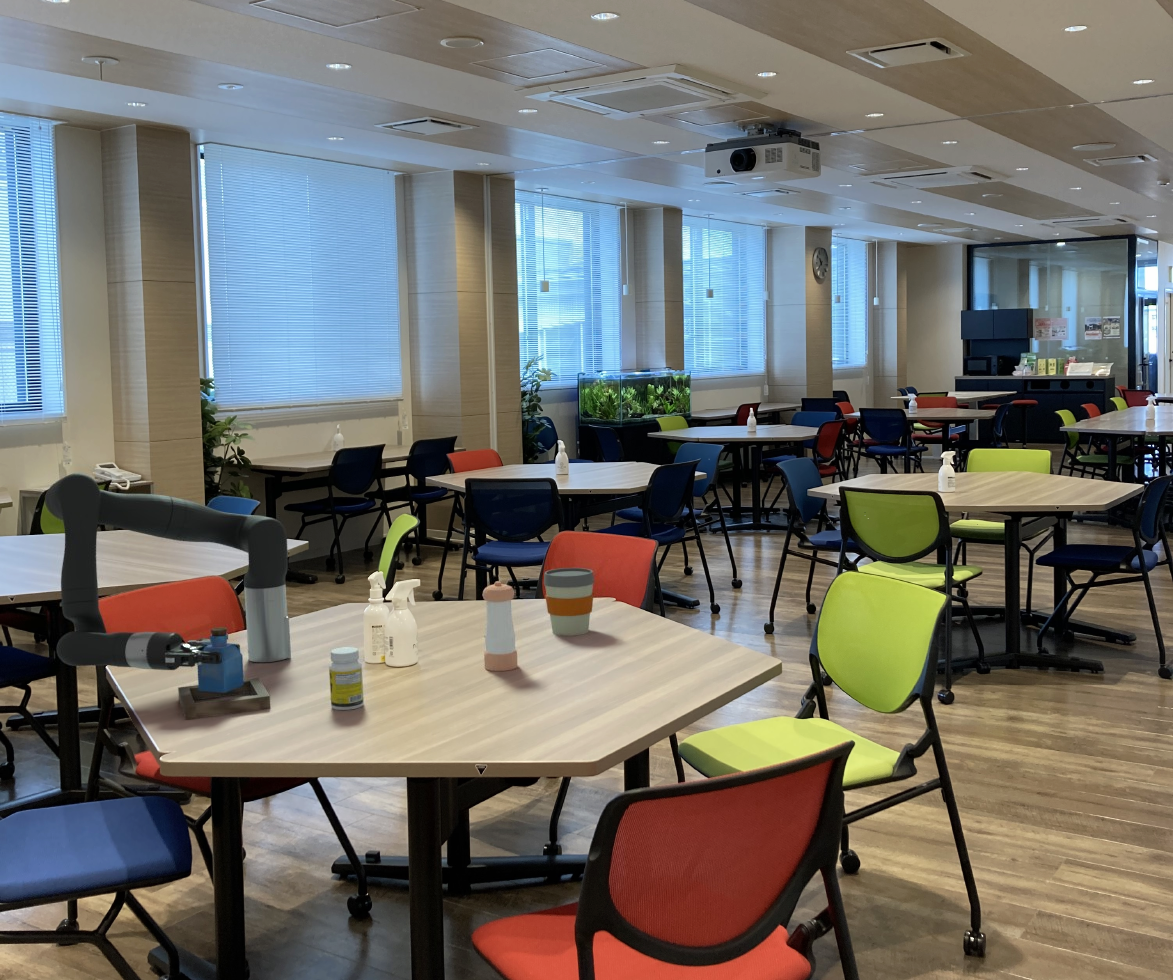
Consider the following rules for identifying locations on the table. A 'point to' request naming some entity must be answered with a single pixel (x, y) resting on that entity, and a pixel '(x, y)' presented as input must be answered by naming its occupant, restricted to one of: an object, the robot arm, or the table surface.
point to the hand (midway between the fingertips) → (230, 653)
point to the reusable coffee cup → (569, 599)
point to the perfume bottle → (221, 665)
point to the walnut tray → (225, 706)
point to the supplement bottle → (346, 679)
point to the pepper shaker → (499, 628)
